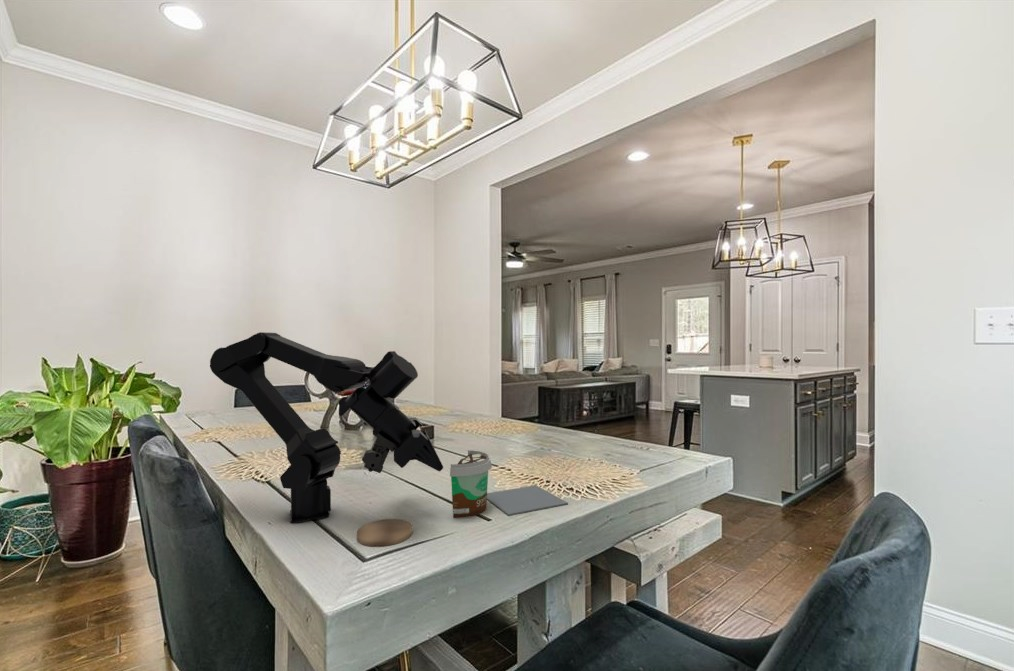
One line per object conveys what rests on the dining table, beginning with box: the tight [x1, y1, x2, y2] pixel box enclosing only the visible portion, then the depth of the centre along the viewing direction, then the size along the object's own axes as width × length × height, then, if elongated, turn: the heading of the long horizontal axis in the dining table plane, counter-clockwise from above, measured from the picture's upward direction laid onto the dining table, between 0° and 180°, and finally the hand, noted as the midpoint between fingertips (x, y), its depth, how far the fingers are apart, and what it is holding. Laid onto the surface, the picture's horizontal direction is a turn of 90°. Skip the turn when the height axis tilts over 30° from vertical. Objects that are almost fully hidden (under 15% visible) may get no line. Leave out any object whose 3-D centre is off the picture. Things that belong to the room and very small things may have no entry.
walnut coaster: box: [356, 518, 413, 547], centre depth 79 cm, size 9×9×1 cm
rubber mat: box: [487, 484, 569, 517], centre depth 95 cm, size 13×13×1 cm
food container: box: [449, 449, 493, 519], centre depth 90 cm, size 12×6×10 cm, turn 168°
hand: (441, 469), depth 89 cm, fingers closed
